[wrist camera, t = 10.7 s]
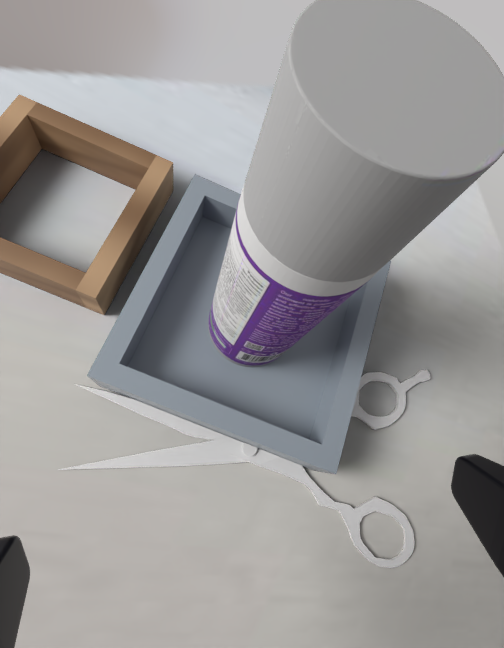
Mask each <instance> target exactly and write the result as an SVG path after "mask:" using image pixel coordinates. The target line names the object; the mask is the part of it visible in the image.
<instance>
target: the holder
mask: <svg viewBox="0 0 504 648" xmlns="http://www.w3.org/2000/svg"><path fill="white" fill-rule="evenodd" d="M41 149H44V150H46V151H48V152H51V153H53V154H55V155H58V156H60V157H62V158H64V159H67V160H69V161H71V162H74V163H76V164H78V165H81V166H83V167H85V168H87V169H90V170H92V171H94V172H97V173H99V174H101V175H104V176H106V177H108V178H110V179H113V180H115V181H117V182H120V183H122V184H124V185H127V186H129V187H131V188H133V189H136V190H135V192H134V194H133V195H132V197H131V199H130V200H129V202H128V204H127V205H126V207H125V209H124V210H123V212H122V214H121V215H120V217H119V219H118V220H117V222H116V224H115V225H114V227H113V229H112V230H111V232H110V234H109V235H108V237H107V239H106V240H105V242H104V244H103V245H102V247H101V249H100V250H99V252H98V254H97V255H96V257H95V259H94V260H93V262H92V264H91V265H90V267H89V269H88V270H87V272H86V273H85V272H83V271H80V270H78V269H75V268H73V267H71V266H68V265H66V264H63V263H61V262H59V261H56V260H54V259H51V258H49V257H47V256H44V255H42V254H39V253H37V252H35V251H32V250H30V249H27V248H25V247H22V246H20V245H18V244H15V243H13V242H10V241H8V240H6V239H3V238H1V237H0V273H2V274H5V275H7V276H10V277H12V278H14V279H17V280H19V281H22V282H24V283H27V284H29V285H32V286H34V287H36V288H39V289H41V290H44V291H46V292H49V293H51V294H54V295H56V296H58V297H61V298H63V299H66V300H68V301H71V302H73V303H76V304H78V305H81V306H83V307H85V308H88V309H90V310H93V311H95V312H98V313H100V314H103V315H105V313H106V311H107V310H108V308H109V306H110V304H111V302H112V301H113V299H114V297H115V295H116V293H117V292H118V290H119V288H120V286H121V284H122V282H123V281H124V279H125V277H126V275H127V273H128V272H129V270H130V268H131V266H132V264H133V263H134V261H135V259H136V257H137V255H138V253H139V252H140V250H141V248H142V246H143V244H144V243H145V241H146V239H147V237H148V235H149V234H150V232H151V230H152V228H153V226H154V225H155V223H156V221H157V219H158V217H159V215H160V214H161V212H162V210H163V208H164V206H165V205H166V203H167V201H168V199H169V197H170V196H171V194H172V192H173V162H171V161H168V160H166V159H164V158H162V157H159V156H157V155H155V154H153V153H150V152H148V151H146V150H144V149H141V148H139V147H137V146H135V145H132V144H130V143H128V142H125V141H123V140H121V139H119V138H116V137H114V136H112V135H110V134H107V133H105V132H103V131H101V130H98V129H96V128H94V127H92V126H89V125H87V124H85V123H83V122H80V121H78V120H76V119H74V118H71V117H69V116H67V115H65V114H62V113H60V112H58V111H55V110H53V109H51V108H49V107H46V106H44V105H42V104H40V103H37V102H35V101H33V100H31V99H28V98H26V97H24V96H22V95H18V97H17V98H16V99H15V100H14V101H13V102H12V104H11V105H10V106H9V107H8V108H7V110H6V111H5V112H4V113H3V114H2V115H1V117H0V203H1V202H2V201H3V199H4V198H5V197H6V195H7V194H8V193H9V191H10V190H11V189H12V187H13V186H14V185H15V184H16V182H17V181H18V180H19V178H20V177H21V176H22V174H23V173H24V172H25V170H26V169H27V168H28V166H29V165H30V164H31V162H32V161H33V160H34V158H35V157H36V156H37V154H38V153H39V152H40V150H41Z"/></svg>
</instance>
